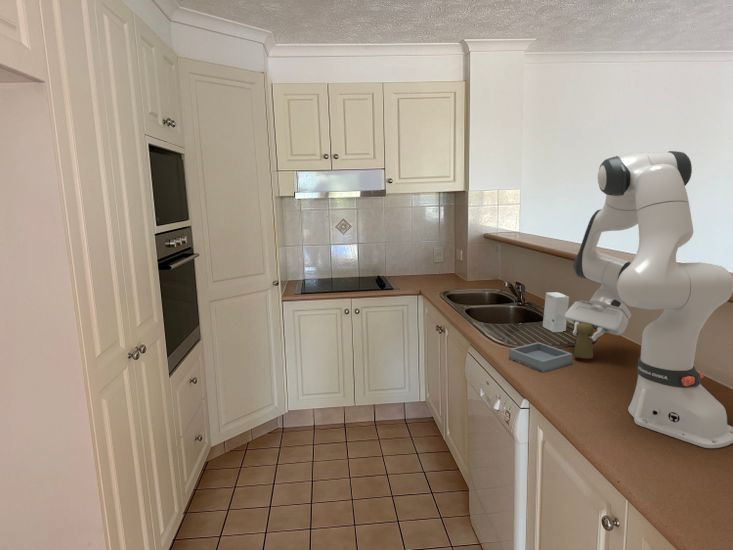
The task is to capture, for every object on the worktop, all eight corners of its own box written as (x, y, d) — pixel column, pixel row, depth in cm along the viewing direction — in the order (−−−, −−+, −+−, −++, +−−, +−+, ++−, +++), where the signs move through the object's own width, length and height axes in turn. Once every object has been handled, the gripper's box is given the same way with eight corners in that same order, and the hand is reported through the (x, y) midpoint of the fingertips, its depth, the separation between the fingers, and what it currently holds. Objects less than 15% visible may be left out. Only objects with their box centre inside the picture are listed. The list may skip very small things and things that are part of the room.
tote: (572, 363, 153) (572, 353, 153) (542, 372, 147) (542, 361, 146) (538, 351, 165) (538, 342, 165) (509, 358, 159) (509, 349, 158)
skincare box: (542, 327, 194) (544, 292, 192) (555, 326, 195) (557, 291, 193) (553, 333, 186) (555, 296, 184) (567, 332, 187) (569, 295, 185)
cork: (582, 359, 153) (584, 326, 151) (569, 353, 159) (571, 322, 157) (597, 357, 155) (599, 325, 153) (584, 351, 160) (586, 320, 158)
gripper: (573, 293, 166) (553, 324, 163) (629, 305, 148) (607, 339, 145) (581, 304, 169) (561, 334, 166) (636, 316, 151) (615, 350, 148)
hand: (583, 337), depth 155 cm, fingers closed on cork, 5 cm apart
